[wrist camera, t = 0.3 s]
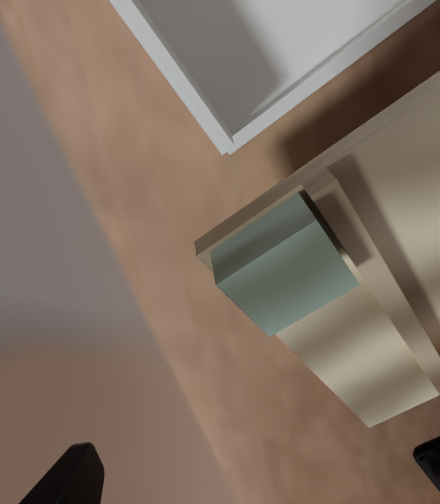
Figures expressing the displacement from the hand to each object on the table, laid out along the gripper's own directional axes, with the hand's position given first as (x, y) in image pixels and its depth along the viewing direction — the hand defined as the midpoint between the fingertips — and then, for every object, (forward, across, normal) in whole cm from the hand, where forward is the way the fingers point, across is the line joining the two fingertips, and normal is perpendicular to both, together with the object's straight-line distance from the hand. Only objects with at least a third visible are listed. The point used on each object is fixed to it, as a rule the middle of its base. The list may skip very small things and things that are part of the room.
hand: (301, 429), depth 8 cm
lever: (+11, -7, +4) cm, 13 cm away
